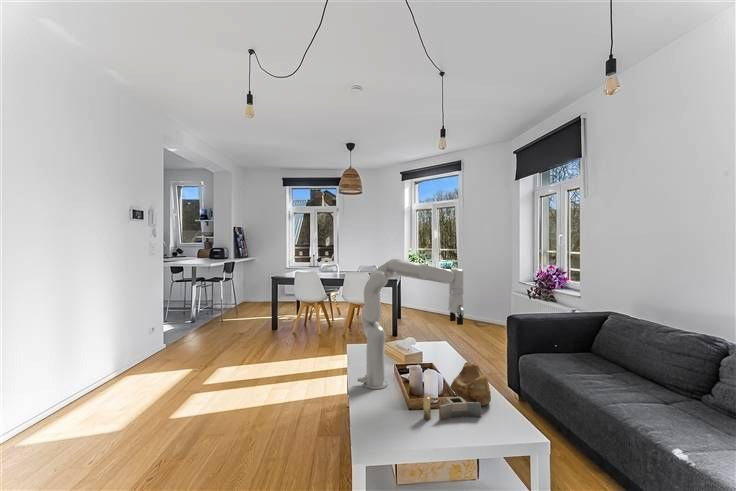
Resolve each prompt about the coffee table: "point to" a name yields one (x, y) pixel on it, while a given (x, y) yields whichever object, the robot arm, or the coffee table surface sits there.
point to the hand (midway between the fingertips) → (456, 322)
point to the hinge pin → (427, 408)
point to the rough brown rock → (472, 385)
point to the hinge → (459, 409)
